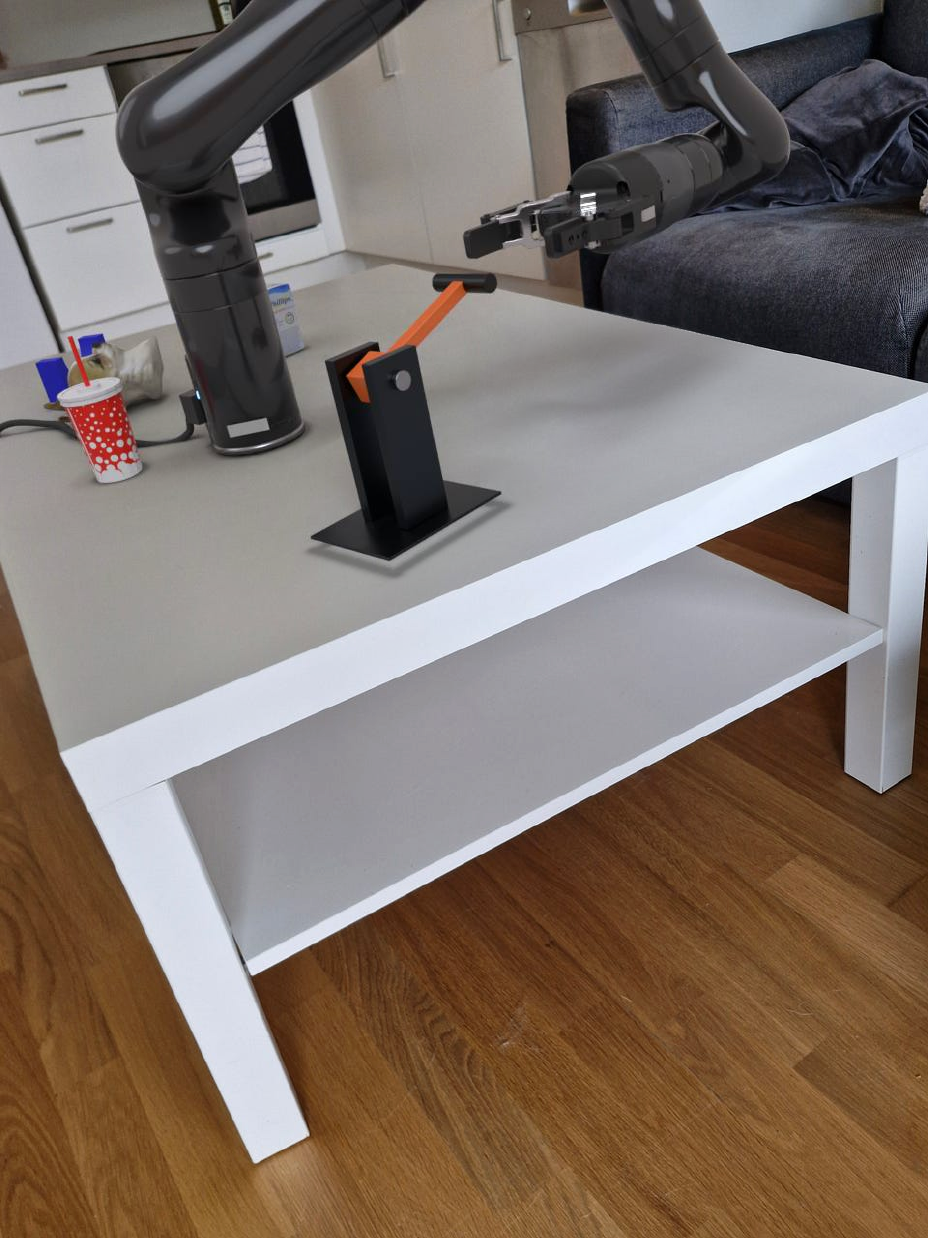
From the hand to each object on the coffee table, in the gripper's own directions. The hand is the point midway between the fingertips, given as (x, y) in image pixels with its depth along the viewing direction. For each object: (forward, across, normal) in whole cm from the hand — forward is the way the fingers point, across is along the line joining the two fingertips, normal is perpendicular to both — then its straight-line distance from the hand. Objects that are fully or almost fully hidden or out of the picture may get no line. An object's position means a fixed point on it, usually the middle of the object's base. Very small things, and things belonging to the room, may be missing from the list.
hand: (506, 245), depth 80 cm
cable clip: (+4, -77, +17) cm, 79 cm away
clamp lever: (+10, 0, +4) cm, 11 cm away
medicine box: (-16, -60, +17) cm, 65 cm away
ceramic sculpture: (+7, -62, +17) cm, 65 cm away
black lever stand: (+16, 0, +17) cm, 23 cm away
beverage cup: (+19, -40, +17) cm, 47 cm away
